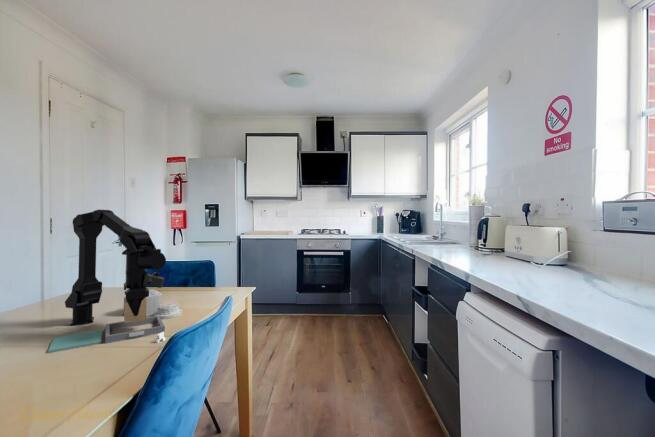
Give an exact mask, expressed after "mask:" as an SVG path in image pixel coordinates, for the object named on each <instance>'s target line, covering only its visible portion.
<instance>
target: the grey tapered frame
mask: <svg viewBox="0 0 655 437" xmlns="http://www.w3.org/2000/svg"><path fill="white" fill-rule="evenodd" d="M153 323H156V324H157V326H152V327H148V328H147V327H146V328H141V329H136V330H131V331H125V332H120V333H119V332H118V333H114V334H110V333H111V332H110V331H112V330H119V329H124V328H129V327H136V326H141V325H149V324H153ZM165 328H166V327H165V324H164V322H163V319H161V318H160V316H154V315H153V316H150V317H149V316H146V320H144V321H138V322H132V323H126V324H125V321H123V320H122V321H118V322H111V323H106V324H105V339H104V340H105V344H108V343H114V342H120V341H125V340H130V339H137V338H141V337H146V336H151V335H158V334H159V333H161V332H164V333H165V330H166V329H165Z"/></svg>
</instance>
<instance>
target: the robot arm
mask: <svg viewBox="0 0 655 437" xmlns="http://www.w3.org/2000/svg"><path fill="white" fill-rule="evenodd" d="M72 226H73V232H74V234H75V235H76V236H77V237H78V239H79V241H78V245H79V246H78V274H77V275H78V276H77V279H76V280H75V282H74V283H73V285H72V286H71V287H72V288H71V293H70V294H69V296H68V297H67V298H66V299H65V301H64V305H65V308H68V309H72V316H71V317H72V319H71V322H70V324H69V325H70V326H76V325H77V326H78V325H84V324H89V323H94V319H95V316H93V309H94V308H93V307H94V306H93V305H95V304H100V300H101V297H102V292H103V281H99V280H98V277H97V276H96V274H97V273H96V272H97V270H96V269H97V268H96V267H97V239H98V237H99V236H100V234H101V233H102V231H103V226H105V227H106V228H107V229H109V230H110V231H111V232H113V233H114V234H115V235H116V236H118V238H119V242H120V244H121V245H122V246H123V247H124V248H125V250H124V251H123V250H122V252H121V255H124V256H125V259H126V260H125V262H126V263H125V282H124V283H123V290H124V295H125V296H126V300H127V302H128V304H129V306H130V309H131V311H132V313H133V315H134V316H138V313H139V309H140V306H141V302H142V300H143V299H144V298H145V297H148V296H149V290H150V289H148V288H147V287H148V286H152V287H156V288H159V289H162V287H163V284H164V282H165V278H164V277H162V276H160V273H159V272H157V271H158V270H162V269H163V268H164V267H165V265H166V262H167V258H166V256H165V255H164V253H162V250H161V249H160V248H157V247H156V244H154V242H153V240H152V238H151V235H150V233H149V232H147V231H146V230H143V229H140V228H138V227H134V226H131V225H130V224H129V223H127V222H126V221H124V220H123V219H122V218H120V217H119V216H118V215H117V214H115V213H114V212H113V211H112V210H110V209H96V210H94V211H90V212H86V213H81V214H80V213H79V214H77V215H76V216H75V217H74V218H72ZM147 270H153V271H154V270H155V271H156V270H157V271H156V272H152V274H151V273H148V271H147Z"/></svg>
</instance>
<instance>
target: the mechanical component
mask: <svg viewBox="0 0 655 437" xmlns="http://www.w3.org/2000/svg"><path fill="white" fill-rule="evenodd" d="M157 310H158V311H157V312H155V313H153V317H154V316H160V318H161V320H165V319H173V318H177V317H179V316H181V315H182V314H183V309H181V308H180V304H179V303H177V302H166V303H162V304H160V305H159V306H158V309H157Z"/></svg>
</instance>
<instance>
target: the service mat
mask: <svg viewBox="0 0 655 437" xmlns="http://www.w3.org/2000/svg"><path fill="white" fill-rule="evenodd" d="M102 336H103V329H98V330H91V331H86V332H80V333H74V334H73V333H72V334H69V335H68V334H67V335H62V336H55V337H53V339H52V341H51V344H50V346H49V348H48V350H47V353H48V354H50V353H54V352H55V353H56V352H60V351H61V352H62V351H65V350H66V351H67V350H72V349H76V348H81V347H87V346H92V345H98V344H102V339H103V337H102Z"/></svg>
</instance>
